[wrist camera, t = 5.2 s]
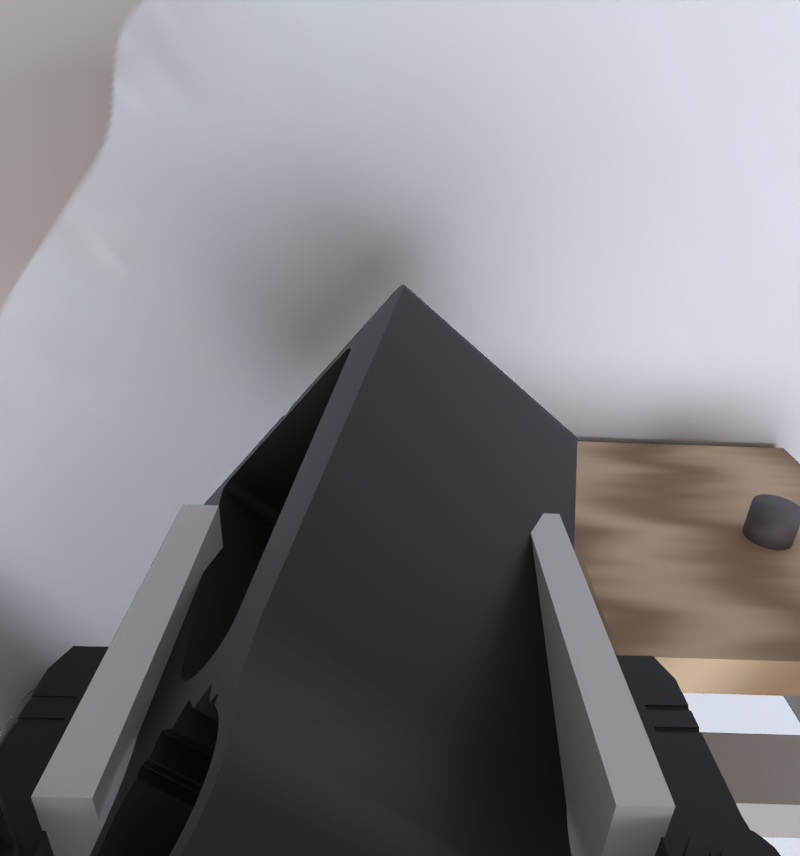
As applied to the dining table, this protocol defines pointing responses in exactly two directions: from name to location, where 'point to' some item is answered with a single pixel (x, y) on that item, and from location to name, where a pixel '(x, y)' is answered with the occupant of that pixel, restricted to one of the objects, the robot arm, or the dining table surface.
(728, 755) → the wall
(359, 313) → the dining table surface
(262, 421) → the dining table surface
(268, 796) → the phone stand
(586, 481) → the door
